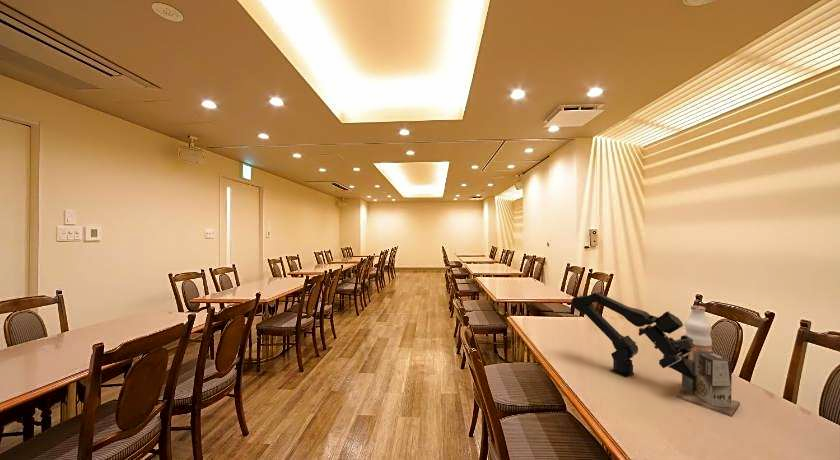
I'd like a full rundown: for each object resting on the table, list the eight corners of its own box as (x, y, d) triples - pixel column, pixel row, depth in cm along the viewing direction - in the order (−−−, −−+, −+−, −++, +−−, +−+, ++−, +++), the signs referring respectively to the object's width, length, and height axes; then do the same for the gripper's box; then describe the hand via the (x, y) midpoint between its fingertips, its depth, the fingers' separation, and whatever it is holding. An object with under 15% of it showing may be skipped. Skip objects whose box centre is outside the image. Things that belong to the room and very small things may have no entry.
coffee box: (732, 408, 110) (733, 361, 110) (712, 406, 111) (712, 360, 111) (711, 394, 119) (712, 351, 119) (692, 393, 120) (693, 350, 120)
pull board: (675, 397, 118) (676, 362, 118) (686, 387, 126) (687, 355, 126) (731, 416, 106) (732, 378, 106) (739, 404, 114) (740, 368, 114)
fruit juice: (679, 366, 145) (680, 305, 145) (690, 363, 149) (690, 303, 149) (705, 375, 137) (705, 310, 137) (715, 371, 141) (716, 308, 141)
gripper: (669, 333, 117) (709, 374, 109) (685, 325, 129) (722, 361, 120) (644, 348, 124) (679, 388, 115) (661, 339, 135) (694, 374, 126)
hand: (695, 377), depth 119 cm, fingers closed on pull board, 3 cm apart
